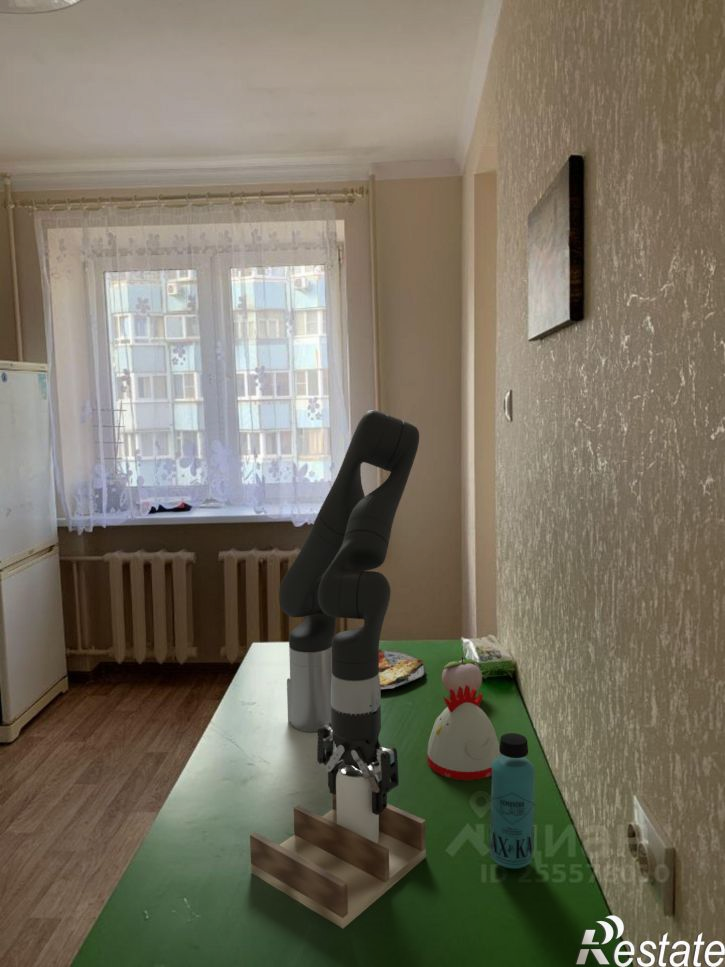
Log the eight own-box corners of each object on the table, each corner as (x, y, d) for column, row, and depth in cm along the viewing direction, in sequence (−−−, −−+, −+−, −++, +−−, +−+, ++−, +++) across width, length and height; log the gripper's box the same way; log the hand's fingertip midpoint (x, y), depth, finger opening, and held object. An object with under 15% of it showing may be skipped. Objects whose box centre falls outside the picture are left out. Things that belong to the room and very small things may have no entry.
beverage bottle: (484, 852, 111) (485, 728, 109) (526, 849, 112) (528, 726, 109) (495, 881, 105) (496, 749, 102) (540, 877, 105) (542, 746, 103)
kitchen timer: (414, 752, 143) (414, 679, 141) (474, 738, 148) (474, 667, 146) (451, 787, 130) (451, 707, 128) (515, 770, 136) (516, 693, 134)
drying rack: (251, 872, 107) (249, 835, 107) (337, 814, 122) (336, 781, 121) (343, 928, 96) (342, 886, 95) (425, 857, 110) (425, 820, 110)
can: (375, 855, 108) (373, 779, 107) (332, 851, 110) (331, 776, 108) (382, 830, 115) (381, 758, 113) (342, 826, 116) (340, 754, 115)
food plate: (379, 650, 199) (379, 638, 198) (444, 674, 182) (443, 661, 181) (307, 678, 182) (307, 664, 182) (371, 707, 165) (371, 692, 165)
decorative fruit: (458, 710, 161) (458, 667, 160) (436, 697, 168) (435, 655, 167) (490, 701, 166) (491, 658, 165) (468, 688, 173) (468, 648, 172)
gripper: (304, 696, 111) (306, 796, 113) (377, 723, 102) (377, 831, 104) (337, 681, 117) (338, 776, 119) (408, 705, 108) (409, 807, 110)
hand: (356, 801), depth 111 cm, fingers open, 8 cm apart
